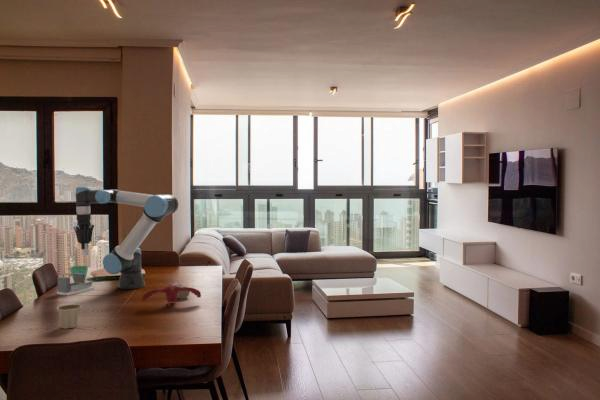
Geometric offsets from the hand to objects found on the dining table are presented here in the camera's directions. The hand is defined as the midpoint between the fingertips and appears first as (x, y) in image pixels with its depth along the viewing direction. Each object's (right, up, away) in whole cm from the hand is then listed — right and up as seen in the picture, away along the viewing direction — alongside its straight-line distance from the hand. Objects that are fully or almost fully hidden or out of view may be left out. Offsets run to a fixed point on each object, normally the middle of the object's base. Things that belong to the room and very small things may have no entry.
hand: (85, 254), depth 291 cm
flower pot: (+24, -24, -72) cm, 80 cm away
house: (+5, -19, +40) cm, 44 cm away
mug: (-11, -20, +20) cm, 30 cm away
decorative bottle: (+56, -21, -12) cm, 61 cm away
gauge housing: (-3, -20, -4) cm, 21 cm away
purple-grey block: (-3, -19, -4) cm, 20 cm away
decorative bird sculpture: (+59, -22, -36) cm, 73 cm away
